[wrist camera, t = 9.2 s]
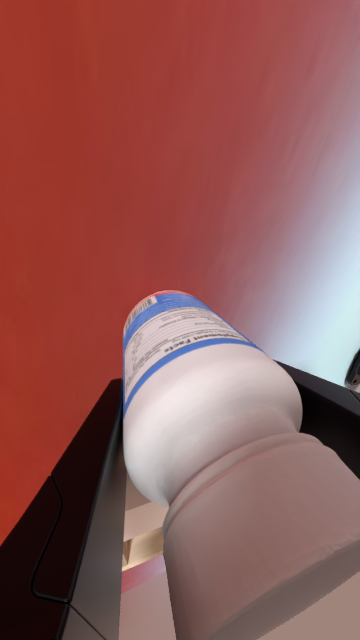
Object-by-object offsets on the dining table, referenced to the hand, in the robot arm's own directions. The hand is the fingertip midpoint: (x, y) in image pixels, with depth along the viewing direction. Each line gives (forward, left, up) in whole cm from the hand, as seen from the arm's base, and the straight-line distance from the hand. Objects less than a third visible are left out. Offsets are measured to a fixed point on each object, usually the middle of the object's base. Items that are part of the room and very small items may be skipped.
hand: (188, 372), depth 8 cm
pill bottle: (0, 0, -4) cm, 4 cm away
